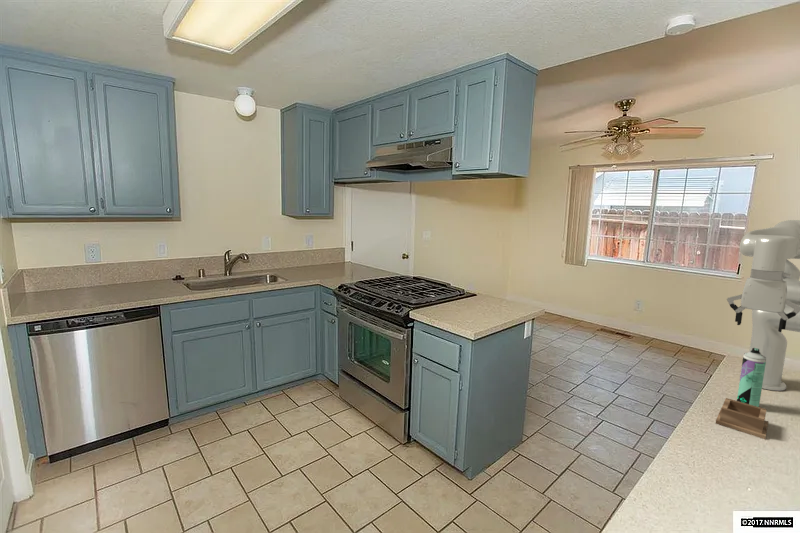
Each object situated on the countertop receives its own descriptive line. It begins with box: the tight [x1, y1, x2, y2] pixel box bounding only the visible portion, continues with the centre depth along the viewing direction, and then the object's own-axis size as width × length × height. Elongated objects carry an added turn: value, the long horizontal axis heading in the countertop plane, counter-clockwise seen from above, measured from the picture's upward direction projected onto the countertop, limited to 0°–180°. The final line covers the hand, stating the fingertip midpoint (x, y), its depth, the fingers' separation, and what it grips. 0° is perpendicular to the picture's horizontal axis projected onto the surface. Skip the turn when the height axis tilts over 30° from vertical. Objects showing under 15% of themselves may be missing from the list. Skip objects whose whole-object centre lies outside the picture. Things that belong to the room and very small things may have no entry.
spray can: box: [736, 348, 766, 407], centre depth 123 cm, size 6×6×20 cm
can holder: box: [715, 397, 769, 440], centre depth 114 cm, size 11×11×5 cm
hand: (758, 327), depth 120 cm, fingers open, 9 cm apart
